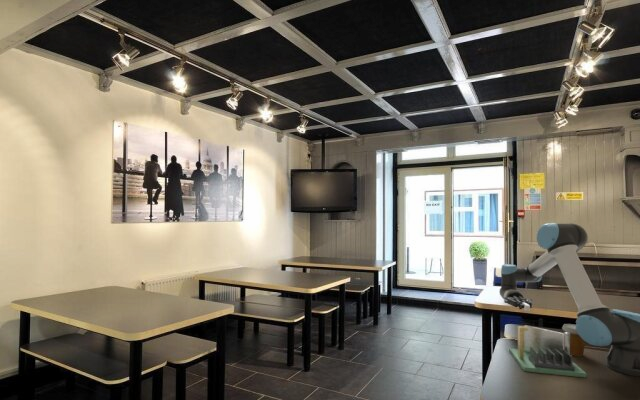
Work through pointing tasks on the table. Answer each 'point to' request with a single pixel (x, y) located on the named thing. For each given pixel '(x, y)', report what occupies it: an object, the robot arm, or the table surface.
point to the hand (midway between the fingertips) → (528, 308)
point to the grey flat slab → (543, 339)
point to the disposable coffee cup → (574, 340)
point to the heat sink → (547, 354)
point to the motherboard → (528, 366)
